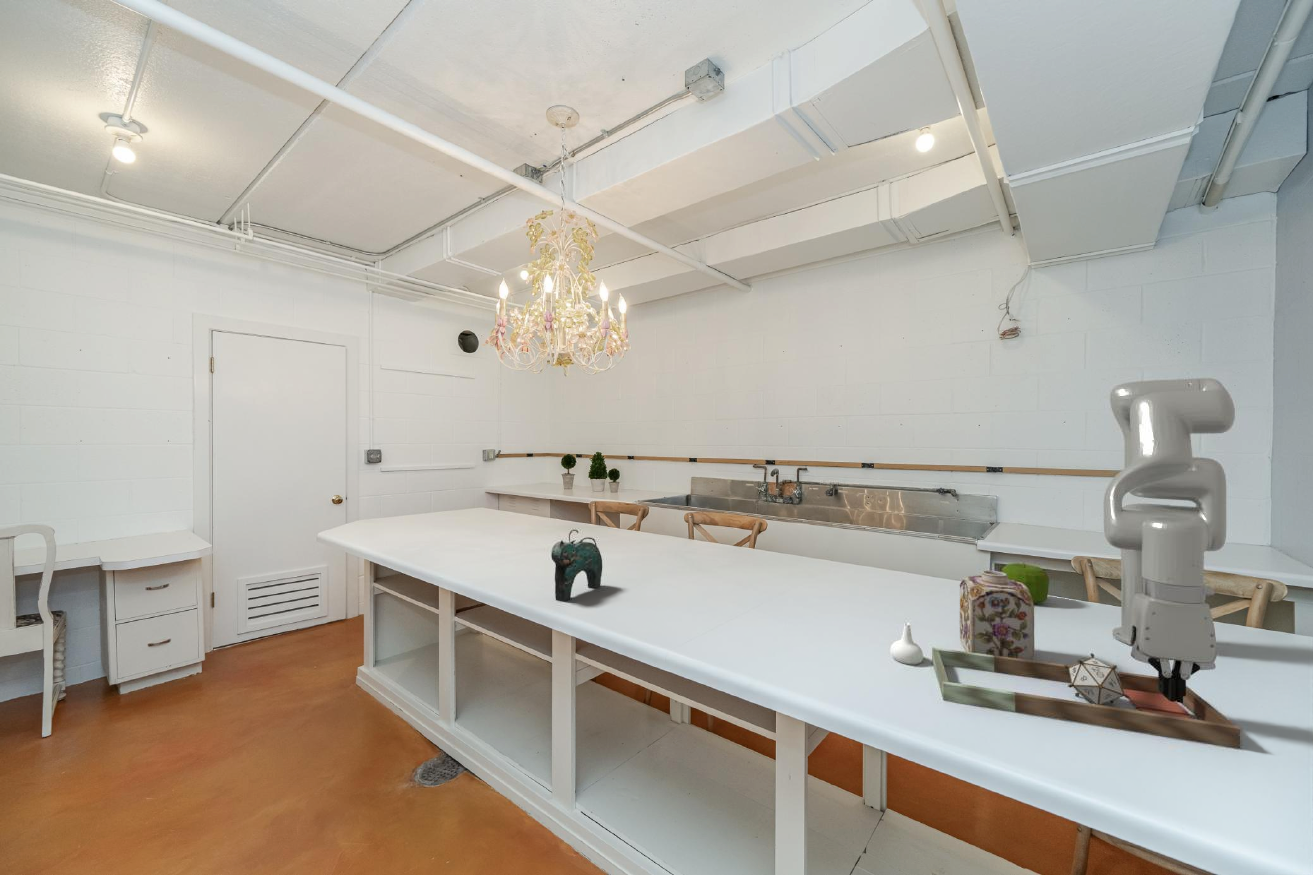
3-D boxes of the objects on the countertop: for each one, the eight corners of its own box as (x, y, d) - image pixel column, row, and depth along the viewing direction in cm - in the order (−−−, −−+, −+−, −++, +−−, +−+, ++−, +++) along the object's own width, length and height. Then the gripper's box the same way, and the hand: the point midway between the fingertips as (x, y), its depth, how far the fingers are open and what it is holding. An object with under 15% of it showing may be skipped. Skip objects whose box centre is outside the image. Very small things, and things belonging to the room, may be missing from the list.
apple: (1006, 604, 146) (1006, 565, 146) (997, 593, 156) (996, 556, 156) (1054, 608, 142) (1054, 568, 142) (1041, 596, 152) (1041, 559, 152)
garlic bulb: (891, 665, 110) (891, 629, 109) (889, 650, 116) (889, 616, 115) (924, 670, 108) (924, 633, 107) (921, 655, 113) (921, 619, 113)
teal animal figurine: (562, 604, 149) (561, 534, 149) (546, 600, 153) (545, 532, 152) (606, 586, 166) (605, 524, 166) (590, 583, 169) (589, 522, 169)
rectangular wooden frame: (1178, 695, 95) (1178, 679, 95) (1240, 748, 79) (1240, 728, 79) (932, 661, 110) (932, 647, 110) (943, 700, 94) (943, 683, 94)
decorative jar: (969, 662, 110) (969, 577, 110) (958, 641, 121) (958, 564, 121) (1036, 670, 106) (1036, 582, 105) (1019, 648, 117) (1018, 568, 116)
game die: (1110, 727, 92) (1156, 698, 86) (1064, 710, 92) (1107, 679, 86) (1085, 682, 99) (1125, 652, 94) (1042, 666, 99) (1080, 635, 94)
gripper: (1216, 589, 89) (1216, 696, 90) (1107, 581, 95) (1107, 681, 95) (1246, 603, 82) (1245, 718, 83) (1126, 592, 88) (1126, 700, 88)
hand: (1171, 698), depth 89 cm, fingers closed
